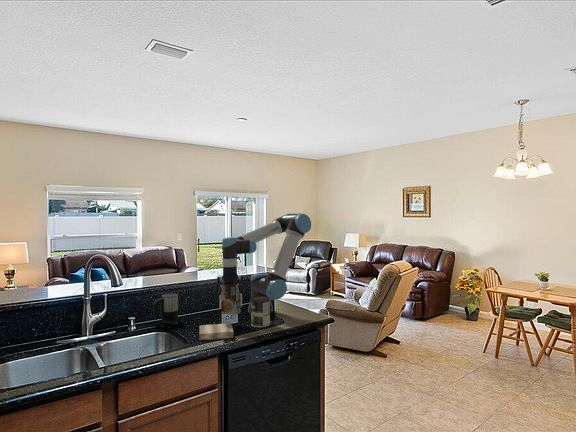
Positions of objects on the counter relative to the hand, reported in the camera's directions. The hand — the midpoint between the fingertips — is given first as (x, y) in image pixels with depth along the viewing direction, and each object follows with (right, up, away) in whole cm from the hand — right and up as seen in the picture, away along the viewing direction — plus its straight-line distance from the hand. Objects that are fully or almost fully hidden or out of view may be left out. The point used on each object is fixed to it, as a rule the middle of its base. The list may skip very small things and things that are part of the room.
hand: (230, 306), depth 200 cm
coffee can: (+16, -10, -1) cm, 19 cm away
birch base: (-5, -10, -17) cm, 20 cm away
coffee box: (0, -4, 0) cm, 4 cm away
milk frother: (-34, -10, +3) cm, 35 cm away
